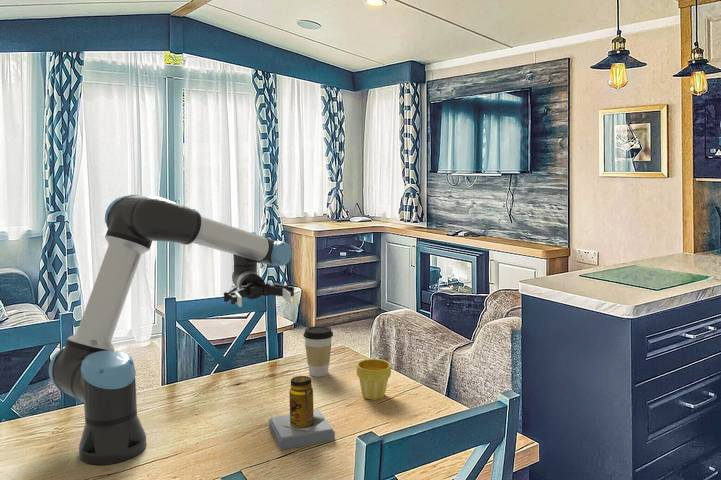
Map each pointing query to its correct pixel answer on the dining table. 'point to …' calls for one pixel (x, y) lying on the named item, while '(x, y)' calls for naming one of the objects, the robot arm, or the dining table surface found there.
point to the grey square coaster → (300, 432)
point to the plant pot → (373, 377)
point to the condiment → (302, 404)
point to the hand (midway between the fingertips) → (265, 300)
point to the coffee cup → (318, 349)
